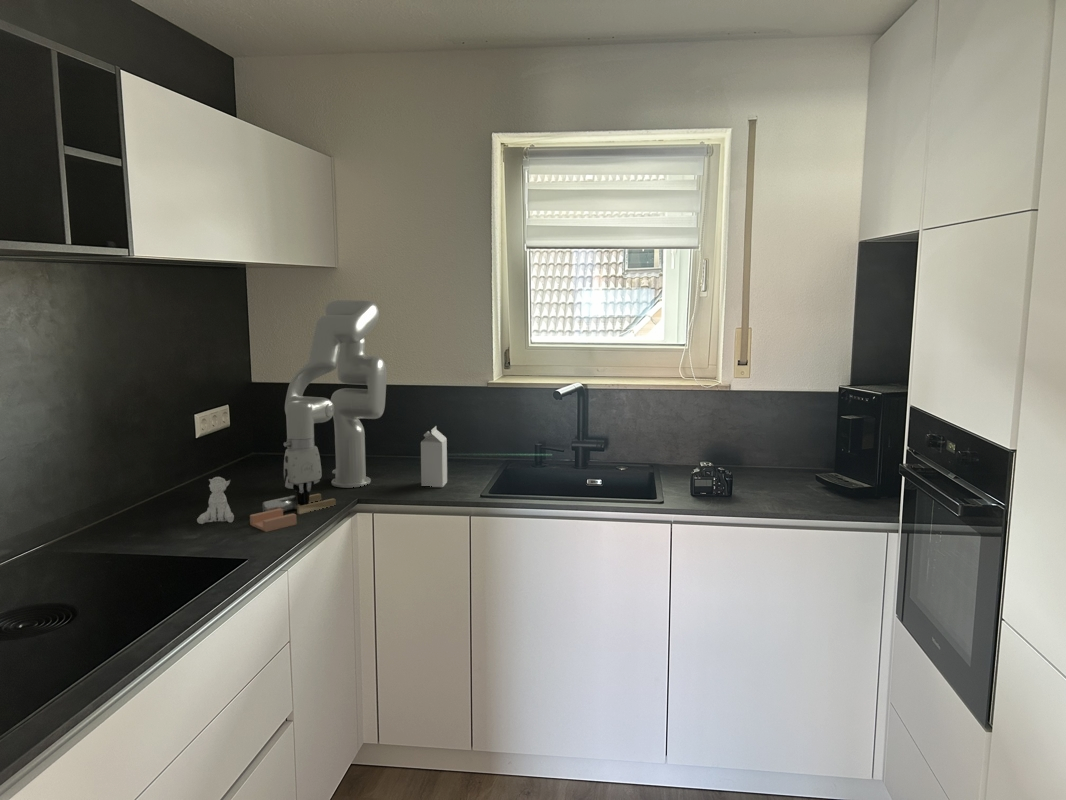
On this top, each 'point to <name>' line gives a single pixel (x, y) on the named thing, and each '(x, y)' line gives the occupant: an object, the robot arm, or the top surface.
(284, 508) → the grey cylinder
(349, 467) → the robot arm
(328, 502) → the channel beam
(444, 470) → the milk carton
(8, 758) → the top surface
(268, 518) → the cradle
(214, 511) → the white creature statuette
